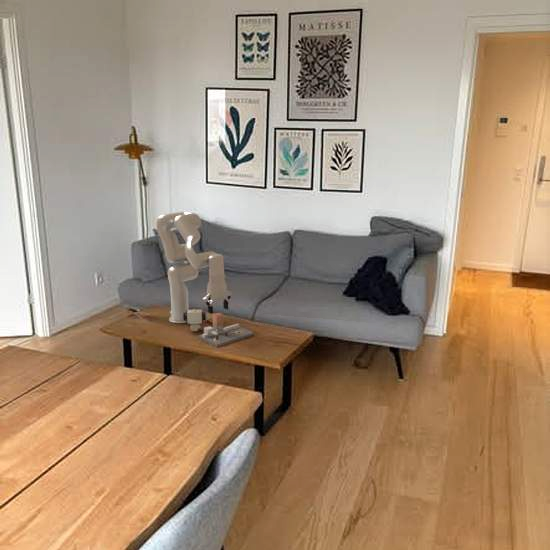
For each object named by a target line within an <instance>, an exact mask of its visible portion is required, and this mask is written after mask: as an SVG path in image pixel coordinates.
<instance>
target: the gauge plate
mask: <svg viewBox="0 0 550 550" xmlns="http://www.w3.org/2000/svg"><path fill="white" fill-rule="evenodd" d="M223 329H225V330H227V336H226V333H225V332H223V331H216V330H214V328H213V327H212V326H210V325H209V326H205V327H203V333H202V334H199V335H197V339H198V338H200V339H202V340H204V341H206V342H208V343H207V344H209V343H210V344H209V345H211V344H212V345H211V346H213V345H214V346H213V347H215V346H216V347H215V348H219V347H218V346H220V345H223V346H225V345H224V344H226V345H228V344H227V343H229V344H231V342H232V343H235V342H237V340H238V341H240V339H241V340H244V339H246V338H245V337H247V338H249V336H250V337H252V335H253V336H254V335H255V332H253V331H251V330H249V329H246V328H244V327H241V326H240V323H236V324H235V323H234V324H231V325H229V326H225V327H223ZM243 338H244V339H243ZM200 339H199V340H200ZM202 340H201V341H202ZM204 341H203V342H204ZM234 341H235V342H234ZM206 342H205V343H206ZM220 347H221V346H220Z"/></svg>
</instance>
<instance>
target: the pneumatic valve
mask: <svg viewBox="0 0 550 550" xmlns="http://www.w3.org/2000/svg"><path fill="white" fill-rule="evenodd" d="M183 320H184V321H186V325H187V324H189V325H190V327H189V328H190V331H191V332H199V331H200V330H201V325H200V324H204V321H207V312H206V311H204V309H196V308H193V309H189V310H186V313H183ZM198 330H199V331H198Z"/></svg>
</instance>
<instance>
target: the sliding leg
mask: <svg viewBox="0 0 550 550" xmlns="http://www.w3.org/2000/svg"><path fill="white" fill-rule="evenodd" d="M211 316H212V320H211V321H212V326H213V328H214V331H215V330H216V331H223V332H225V333H226V336H227V330H225V329H223V328H224V324H225V323H224V313H221V312H219V311H218V312H216V313H213V314H211Z"/></svg>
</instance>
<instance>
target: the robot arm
mask: <svg viewBox="0 0 550 550" xmlns="http://www.w3.org/2000/svg"><path fill="white" fill-rule="evenodd" d="M201 225H202V219H201V217H200V216H199V214H197V213H195V212H186V211H180V212H179V211H178V212H171V213H164V214H161V215H159V216H158V217H157V219H156V224H155V226H156V227H155V228H156V231H157V233H158V235H159V237H160V240H161V242H162V247H163V250H164V254H165V258H166V260H167V262H168V263H169V264H175V265H172V266H171V267H169V268H168V270H167V278H168V283H169V290H170V292H169V293H170V309H171V310H170V311H169V313H170V314H171V316H170V317H168V318H169V319H168V321H169V322H170V323H173V324H185V323H186V321H184V320H183V313H186V310H190V309H189V290H188V286H187V285H186V284H185V282H186V281H192V280H195V279H196V278H197V277H198V276H199V269H203V268H208V276H209V277H208V278H209V279H208V282H207V286H206V296H204V297H203V298H202V301H203V302H204V304H205V305H206V306H207V311H208V314H211V315H212V314H214V308H213V307H214V306H213V304H214V303H216V302H220V301H222V302H223V303H222V304H223V309H224V310H229V302H230V299H231V296H232V291H229V290H228V287H227V282H226V280H225V278H226V276H227V275H226V274H225V267H224V266H225V263H224V256H223V254H220V253H216V252H215V251H207V252H206V251H205V252H199V253H196V251H195V250H194V248H193V246H194V245H196V244H197V243H198V242H199V241H200V239H201V234H200V232H199V230H198V229H199V228H200V227H201ZM173 229H177V230H178V232H179V234H180V235H181V237H182V239H183V240H184V241H185V243H182V244H180V243H179V240H178V239H179V238H178V236H177V235H176V233H175V232H174V231H173ZM182 262H184V263H182ZM177 263H181V264H177Z"/></svg>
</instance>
